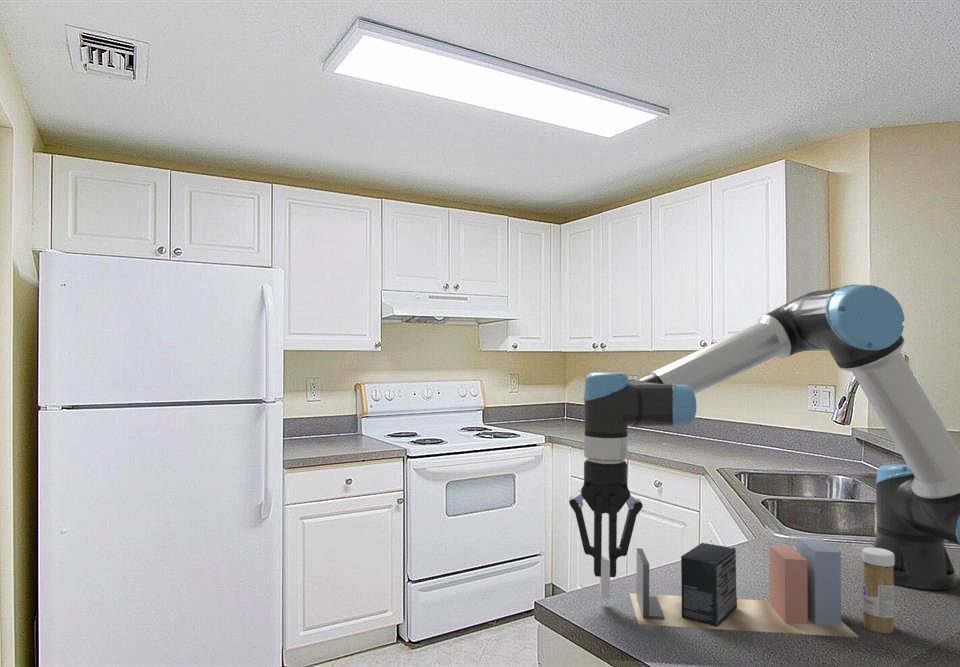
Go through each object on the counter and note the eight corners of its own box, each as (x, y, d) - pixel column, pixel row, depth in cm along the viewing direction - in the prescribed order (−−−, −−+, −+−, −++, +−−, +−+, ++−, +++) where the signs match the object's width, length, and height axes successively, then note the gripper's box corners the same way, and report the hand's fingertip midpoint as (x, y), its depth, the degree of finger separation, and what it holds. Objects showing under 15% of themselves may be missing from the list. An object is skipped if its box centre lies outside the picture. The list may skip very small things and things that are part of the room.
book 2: (821, 607, 114) (821, 538, 115) (841, 626, 106) (840, 552, 107) (797, 606, 115) (797, 537, 115) (815, 624, 107) (815, 551, 107)
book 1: (790, 605, 115) (790, 545, 115) (807, 624, 107) (807, 560, 107) (769, 604, 115) (769, 545, 116) (785, 623, 108) (785, 559, 108)
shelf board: (822, 609, 116) (822, 603, 116) (859, 643, 102) (859, 637, 102) (629, 598, 120) (629, 593, 120) (638, 630, 106) (638, 624, 106)
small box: (700, 599, 118) (700, 540, 118) (738, 608, 114) (737, 547, 114) (678, 617, 109) (679, 554, 110) (718, 627, 105) (718, 562, 106)
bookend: (656, 599, 117) (656, 549, 118) (664, 619, 108) (664, 565, 109) (636, 598, 118) (636, 548, 118) (642, 618, 109) (643, 564, 109)
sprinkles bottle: (856, 627, 109) (856, 546, 109) (884, 627, 109) (883, 546, 109) (873, 639, 104) (872, 554, 104) (901, 639, 104) (900, 555, 104)
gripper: (640, 457, 118) (640, 589, 117) (568, 455, 119) (567, 585, 118) (646, 464, 110) (645, 605, 110) (568, 462, 112) (567, 600, 111)
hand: (604, 594), depth 114 cm, fingers closed
